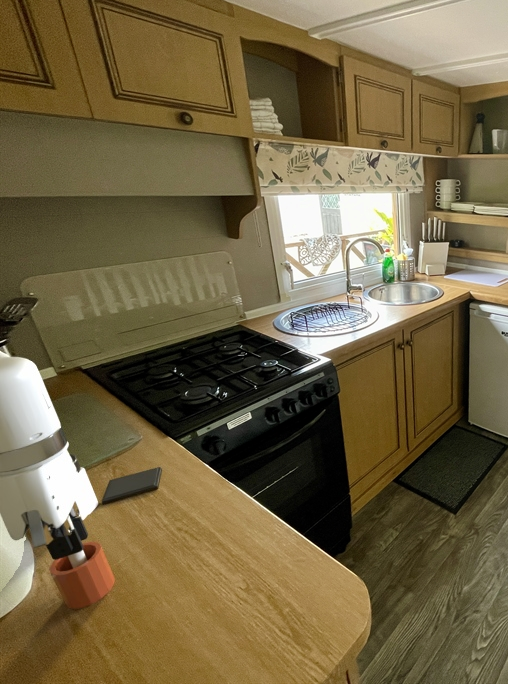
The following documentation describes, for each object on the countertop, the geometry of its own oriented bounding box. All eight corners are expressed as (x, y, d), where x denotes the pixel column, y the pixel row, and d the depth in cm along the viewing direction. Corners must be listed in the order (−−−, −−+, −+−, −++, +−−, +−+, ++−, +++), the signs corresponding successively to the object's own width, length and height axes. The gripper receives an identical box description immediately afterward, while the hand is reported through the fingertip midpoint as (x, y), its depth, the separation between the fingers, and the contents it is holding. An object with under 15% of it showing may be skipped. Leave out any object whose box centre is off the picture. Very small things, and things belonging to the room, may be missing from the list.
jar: (24, 527, 70) (-2, 477, 66) (77, 496, 78) (57, 449, 73) (56, 540, 68) (32, 488, 64) (107, 506, 75) (88, 459, 71)
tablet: (102, 505, 76) (101, 501, 75) (110, 483, 81) (109, 479, 81) (158, 488, 80) (157, 485, 80) (162, 469, 86) (161, 465, 86)
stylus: (81, 596, 58) (51, 525, 53) (86, 586, 60) (56, 516, 55) (95, 592, 59) (66, 521, 54) (99, 583, 60) (71, 513, 55)
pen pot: (62, 618, 56) (43, 581, 53) (73, 586, 60) (56, 551, 58) (111, 599, 59) (95, 563, 56) (119, 570, 63) (104, 536, 60)
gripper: (10, 425, 54) (55, 520, 60) (-53, 497, 41) (12, 607, 48) (81, 412, 58) (116, 503, 64) (42, 474, 45) (91, 579, 52)
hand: (71, 547), depth 56 cm, fingers closed on stylus, 1 cm apart
